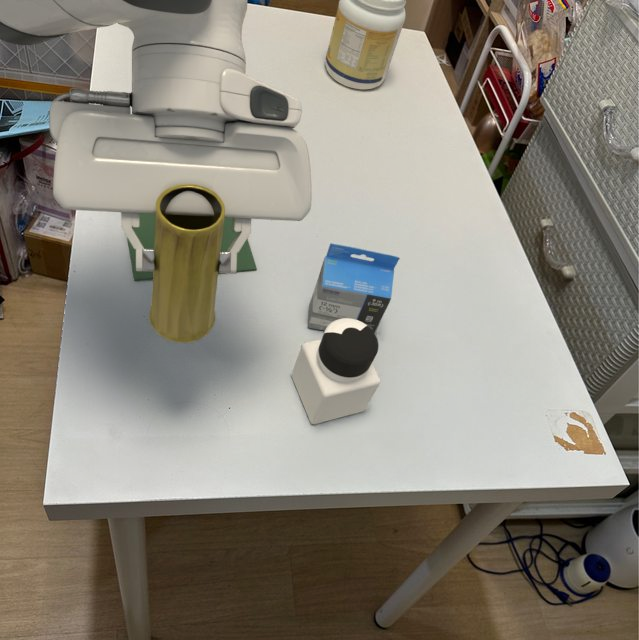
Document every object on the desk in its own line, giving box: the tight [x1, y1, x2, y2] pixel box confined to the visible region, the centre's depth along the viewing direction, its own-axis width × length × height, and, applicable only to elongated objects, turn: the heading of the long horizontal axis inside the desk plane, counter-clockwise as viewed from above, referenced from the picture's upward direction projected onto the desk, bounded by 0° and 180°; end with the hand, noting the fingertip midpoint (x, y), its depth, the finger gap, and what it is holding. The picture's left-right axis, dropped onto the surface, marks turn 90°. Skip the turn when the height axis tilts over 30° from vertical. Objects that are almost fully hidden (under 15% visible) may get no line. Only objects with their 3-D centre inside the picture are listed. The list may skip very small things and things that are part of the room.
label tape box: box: [307, 242, 401, 334], centre depth 75 cm, size 9×4×12 cm, turn 87°
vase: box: [148, 184, 225, 344], centre depth 51 cm, size 6×6×14 cm
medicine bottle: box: [291, 318, 382, 425], centre depth 68 cm, size 7×7×12 cm
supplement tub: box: [325, 0, 407, 90], centre depth 111 cm, size 12×12×17 cm
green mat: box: [126, 213, 258, 282], centre depth 83 cm, size 16×14×1 cm
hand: (187, 272), depth 50 cm, fingers closed on vase, 5 cm apart
